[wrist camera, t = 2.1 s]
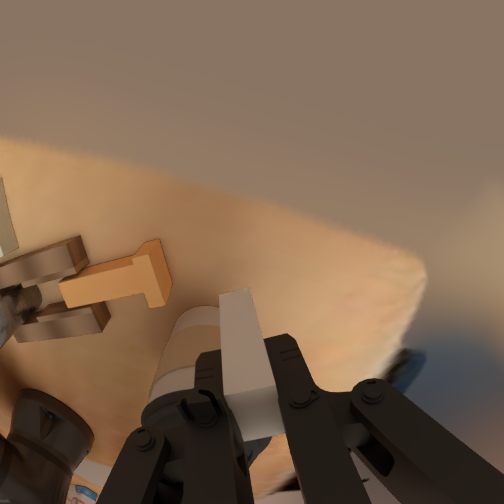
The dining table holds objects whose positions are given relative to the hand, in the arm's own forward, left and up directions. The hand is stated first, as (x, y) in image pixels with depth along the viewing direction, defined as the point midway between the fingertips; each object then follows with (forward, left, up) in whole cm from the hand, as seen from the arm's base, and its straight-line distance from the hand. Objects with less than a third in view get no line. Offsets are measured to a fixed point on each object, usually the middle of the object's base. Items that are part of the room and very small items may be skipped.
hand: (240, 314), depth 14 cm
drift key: (-11, 0, -12) cm, 16 cm away
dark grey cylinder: (-24, 0, -12) cm, 27 cm away
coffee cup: (-4, -9, -12) cm, 16 cm away
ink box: (-54, -54, -12) cm, 77 cm away
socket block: (-21, 0, -12) cm, 24 cm away
